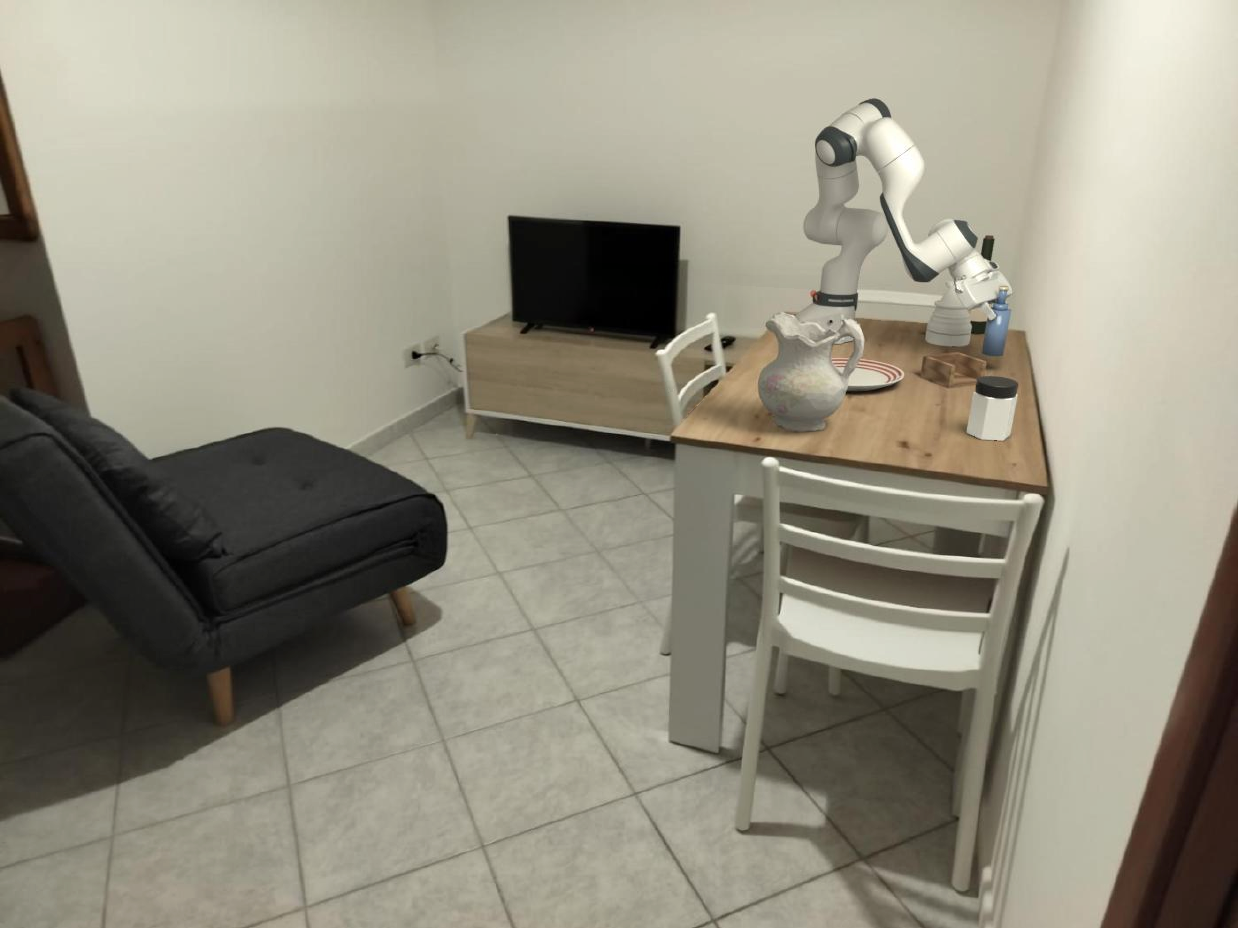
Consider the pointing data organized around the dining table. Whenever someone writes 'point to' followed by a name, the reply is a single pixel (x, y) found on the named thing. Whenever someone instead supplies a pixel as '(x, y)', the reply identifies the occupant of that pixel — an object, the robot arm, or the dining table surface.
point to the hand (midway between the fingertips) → (1001, 316)
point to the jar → (992, 408)
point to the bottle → (997, 326)
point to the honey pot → (949, 321)
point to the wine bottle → (979, 317)
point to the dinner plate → (869, 374)
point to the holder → (952, 369)
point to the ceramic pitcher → (806, 372)
